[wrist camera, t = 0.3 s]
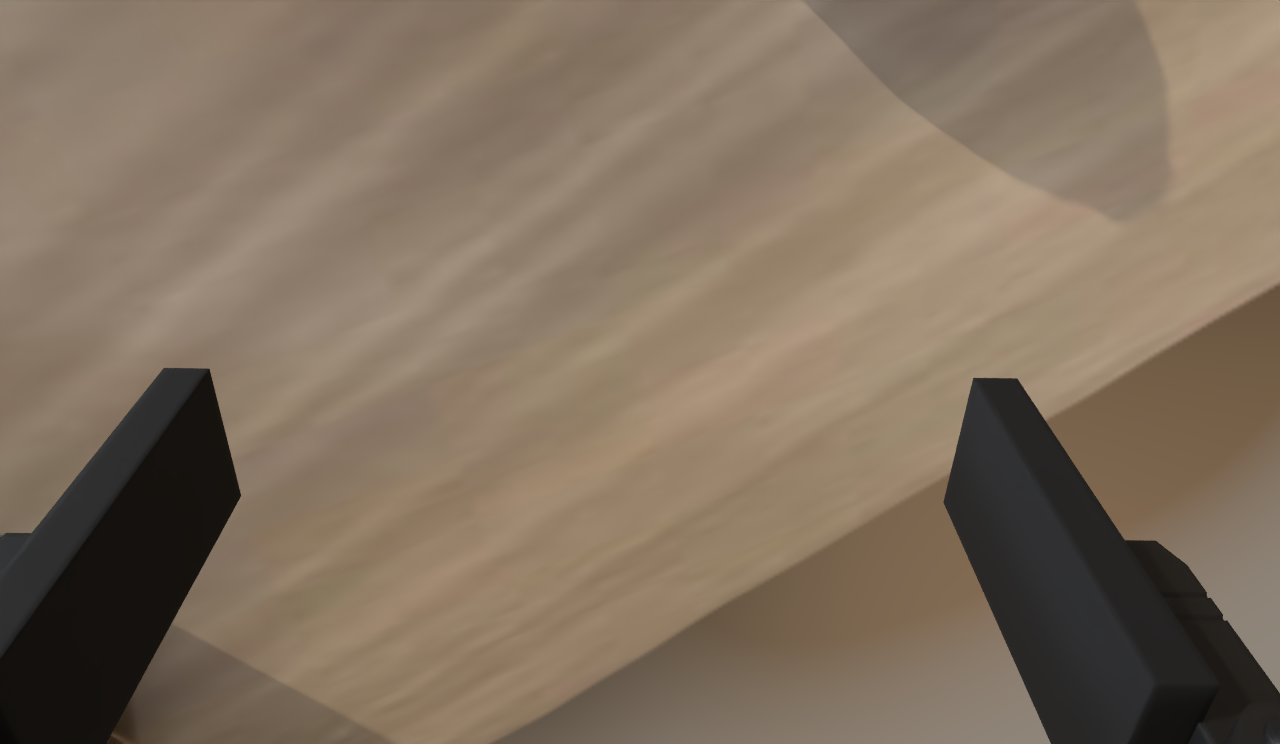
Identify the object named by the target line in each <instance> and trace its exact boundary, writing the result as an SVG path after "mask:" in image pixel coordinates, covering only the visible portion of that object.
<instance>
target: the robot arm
mask: <svg viewBox="0 0 1280 744" xmlns="http://www.w3.org/2000/svg"><path fill="white" fill-rule="evenodd" d="M240 497H241V493H240V489H239V485H238V481H237V477H236V473H235V469H234V465H233V461H232V457H231V453H230V449H229V445H228V441H227V437H226V433H225V429H224V425H223V421H222V417H221V413H220V409H219V405H218V401H217V397H216V393H215V389H214V385H213V381H212V377H211V373H210V369H194V368H164V369H163V370H162V371H161V372H160V374H159V375H158V376H157V377H156V379H155V380H154V381H153V382H152V384H151V385H150V386H149V387H148V389H147V390H146V391H145V392H144V394H143V395H142V396H141V397H140V399H139V400H138V401H137V402H136V404H135V405H134V406H133V407H132V409H131V410H130V411H129V412H128V414H127V415H126V416H125V417H124V419H123V420H122V421H121V422H120V424H119V425H118V426H117V427H116V429H115V430H114V431H113V432H112V434H111V435H110V436H109V437H108V439H107V440H106V441H105V442H104V444H103V445H102V446H101V447H100V449H99V450H98V451H97V452H96V454H95V455H94V456H93V457H92V459H91V460H90V461H89V462H88V464H87V465H86V466H85V467H84V469H83V470H82V471H81V472H80V474H79V475H78V476H77V477H76V479H75V480H74V481H73V482H72V484H71V485H70V486H69V487H68V489H67V490H66V491H65V492H64V494H63V495H62V496H61V497H60V499H59V500H58V501H57V502H56V504H55V505H54V506H53V507H52V509H51V510H50V511H49V512H48V514H47V515H46V516H45V517H44V519H43V520H42V521H41V522H40V524H39V525H38V526H37V527H36V529H35V530H34V531H33V532H32V533H6V534H4V535H3V536H1V537H0V744H106V742H107V741H108V739H109V737H110V735H111V733H112V731H113V730H114V728H115V726H116V724H117V722H118V720H119V719H120V717H121V715H122V713H123V711H124V709H125V708H126V706H127V704H128V702H129V700H130V698H131V697H132V695H133V693H134V691H135V689H136V687H137V686H138V684H139V682H140V680H141V678H142V676H143V675H144V673H145V671H146V669H147V667H148V665H149V664H150V662H151V660H152V658H153V656H154V654H155V653H156V651H157V649H158V647H159V645H160V643H161V642H162V640H163V638H164V636H165V634H166V632H167V631H168V629H169V627H170V625H171V623H172V621H173V620H174V618H175V616H176V614H177V612H178V610H179V609H180V607H181V605H182V603H183V601H184V599H185V598H186V596H187V594H188V592H189V590H190V588H191V587H192V585H193V583H194V581H195V579H196V577H197V576H198V574H199V572H200V570H201V568H202V566H203V565H204V563H205V561H206V559H207V557H208V556H209V554H210V552H211V550H212V548H213V546H214V545H215V543H216V541H217V539H218V537H219V535H220V534H221V532H222V530H223V528H224V526H225V524H226V523H227V521H228V519H229V517H230V515H231V513H232V512H233V510H234V508H235V506H236V504H237V502H238V501H239V499H240ZM944 505H945V507H946V509H947V511H948V513H949V516H950V518H951V520H952V522H953V525H954V527H955V529H956V531H957V534H958V536H959V538H960V540H961V543H962V545H963V547H964V549H965V552H966V554H967V556H968V558H969V561H970V563H971V565H972V567H973V570H974V572H975V574H976V576H977V579H978V581H979V583H980V585H981V588H982V590H983V592H984V594H985V596H986V598H987V601H988V603H989V605H990V608H991V610H992V612H993V614H994V617H995V619H996V621H997V623H998V626H999V628H1000V630H1001V632H1002V635H1003V637H1004V639H1005V641H1006V644H1007V646H1008V648H1009V650H1010V653H1011V655H1012V657H1013V659H1014V662H1015V664H1016V666H1017V668H1018V671H1019V673H1020V675H1021V677H1022V679H1023V682H1024V684H1025V686H1026V689H1027V691H1028V693H1029V695H1030V697H1031V700H1032V702H1033V704H1034V707H1035V708H1036V711H1037V713H1038V715H1039V718H1040V720H1041V722H1042V724H1043V727H1044V729H1045V731H1046V733H1047V736H1048V738H1049V740H1050V742H1051V744H1280V693H1279V692H1278V690H1277V689H1276V688H1275V686H1274V685H1273V684H1272V682H1271V681H1270V679H1269V678H1268V676H1267V675H1266V674H1265V672H1264V671H1263V670H1262V668H1261V667H1260V665H1259V664H1258V663H1257V661H1256V660H1255V658H1254V657H1253V656H1252V654H1251V653H1250V652H1249V650H1248V649H1247V647H1246V646H1245V645H1244V643H1243V642H1242V641H1241V639H1240V638H1239V636H1238V635H1237V634H1236V632H1235V631H1234V629H1233V628H1232V627H1231V625H1230V624H1229V623H1228V621H1224V620H1223V614H1222V613H1221V612H1220V610H1219V609H1218V607H1217V606H1216V605H1215V603H1214V602H1213V601H1212V599H1211V598H1207V592H1206V591H1205V589H1204V588H1203V587H1202V585H1201V584H1200V582H1199V581H1198V580H1197V578H1196V577H1195V576H1194V574H1193V573H1192V572H1191V570H1190V569H1189V567H1188V566H1187V565H1186V564H1185V563H1184V562H1182V561H1181V560H1180V559H1179V558H1177V557H1176V556H1174V555H1173V554H1172V553H1171V552H1169V551H1168V550H1167V549H1165V548H1164V547H1163V546H1162V545H1161V544H1159V543H1158V542H1157V541H1133V540H1132V541H1131V540H1127V541H1125V540H1124V539H1123V537H1122V536H1121V534H1120V533H1119V531H1118V530H1117V528H1116V527H1115V525H1114V524H1113V522H1112V521H1111V519H1110V518H1109V516H1108V515H1107V513H1106V511H1105V510H1104V509H1103V507H1102V506H1101V504H1100V503H1099V501H1098V499H1097V498H1096V496H1095V495H1094V493H1093V492H1092V490H1091V489H1090V487H1089V486H1088V485H1087V483H1086V481H1085V480H1084V478H1083V477H1082V475H1081V474H1080V472H1079V471H1078V469H1077V468H1076V466H1075V465H1074V463H1073V462H1072V460H1071V459H1070V457H1069V456H1068V455H1067V453H1066V451H1065V450H1064V448H1063V447H1062V445H1061V444H1060V442H1059V441H1058V439H1057V438H1056V436H1055V435H1054V433H1053V432H1052V430H1051V429H1050V427H1049V426H1048V424H1047V423H1046V421H1045V420H1044V418H1043V417H1042V415H1041V414H1040V412H1039V411H1038V409H1037V408H1036V406H1035V405H1034V403H1033V402H1032V400H1031V399H1030V397H1029V396H1028V394H1027V393H1026V391H1025V390H1024V388H1023V387H1022V385H1021V384H1020V382H1019V381H1018V379H1012V378H973V382H972V386H971V390H970V394H969V398H968V403H967V407H966V411H965V415H964V419H963V423H962V428H961V432H960V436H959V440H958V444H957V448H956V453H955V457H954V461H953V465H952V469H951V473H950V478H949V482H948V486H947V490H946V494H945V499H944Z"/></svg>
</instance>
